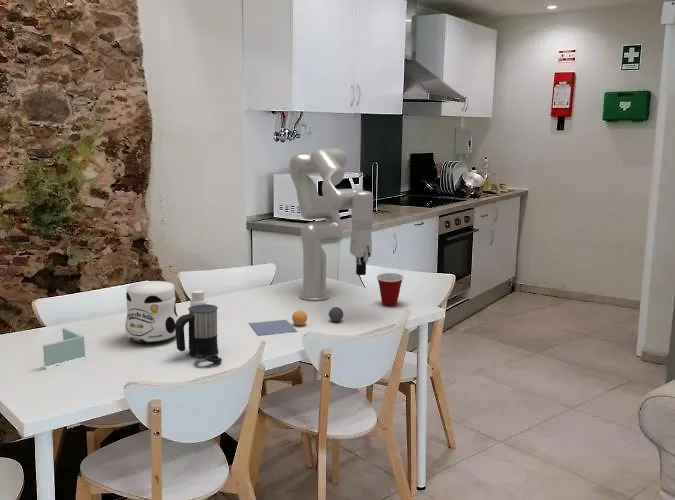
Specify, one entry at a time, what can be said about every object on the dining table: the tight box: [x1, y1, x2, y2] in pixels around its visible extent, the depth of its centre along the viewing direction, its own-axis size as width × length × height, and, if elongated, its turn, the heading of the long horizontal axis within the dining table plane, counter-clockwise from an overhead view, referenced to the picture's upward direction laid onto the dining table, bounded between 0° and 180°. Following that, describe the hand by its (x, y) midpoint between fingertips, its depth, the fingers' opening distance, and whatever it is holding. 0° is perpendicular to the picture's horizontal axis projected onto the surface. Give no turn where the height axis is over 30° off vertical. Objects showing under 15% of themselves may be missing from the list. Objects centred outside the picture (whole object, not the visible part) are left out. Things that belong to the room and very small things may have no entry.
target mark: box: [248, 319, 298, 337], centre depth 231 cm, size 14×14×1 cm
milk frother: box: [175, 303, 223, 365], centre depth 200 cm, size 14×16×15 cm
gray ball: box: [328, 306, 344, 323], centre depth 239 cm, size 5×5×5 cm
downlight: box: [189, 289, 207, 307], centre depth 240 cm, size 8×7×10 cm
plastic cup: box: [376, 272, 405, 308], centre depth 260 cm, size 11×11×12 cm
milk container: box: [124, 280, 179, 344], centre depth 216 cm, size 17×17×18 cm
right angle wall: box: [42, 327, 86, 367], centre depth 197 cm, size 12×12×8 cm
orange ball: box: [291, 310, 308, 326], centre depth 234 cm, size 5×5×5 cm
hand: (360, 274), depth 239 cm, fingers closed
